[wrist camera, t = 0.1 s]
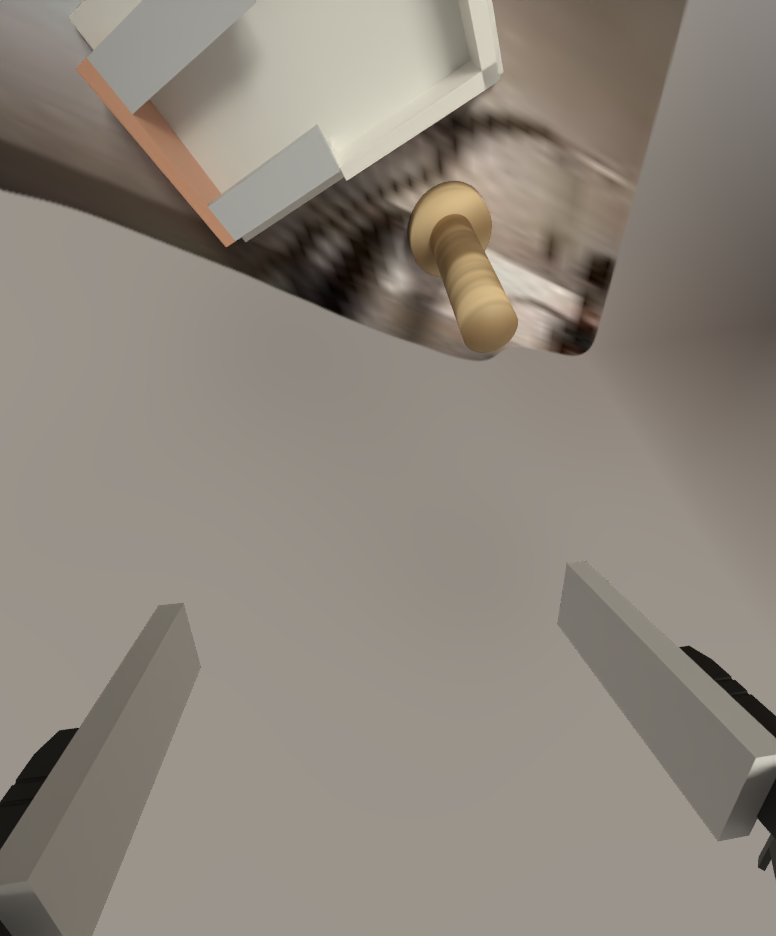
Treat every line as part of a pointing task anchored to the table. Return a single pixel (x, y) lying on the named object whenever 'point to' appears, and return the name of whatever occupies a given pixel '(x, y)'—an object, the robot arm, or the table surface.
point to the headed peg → (463, 262)
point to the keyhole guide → (280, 90)
